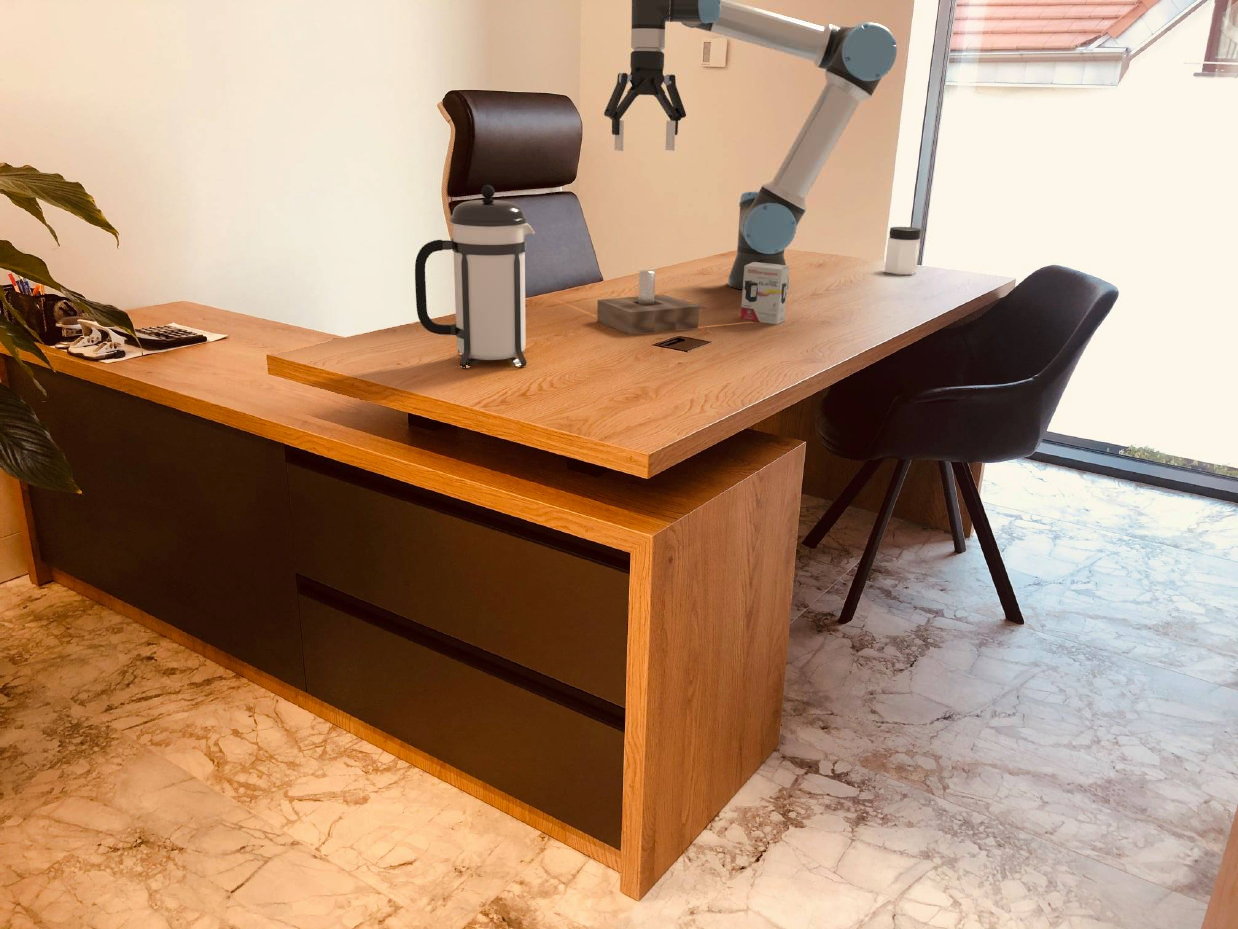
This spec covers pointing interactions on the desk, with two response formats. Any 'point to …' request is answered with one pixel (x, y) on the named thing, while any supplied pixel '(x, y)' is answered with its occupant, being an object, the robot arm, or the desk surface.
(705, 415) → the desk surface
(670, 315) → the hole block
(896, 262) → the jar
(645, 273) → the silver rounded cylinder
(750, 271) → the ink box
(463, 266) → the coffee press
